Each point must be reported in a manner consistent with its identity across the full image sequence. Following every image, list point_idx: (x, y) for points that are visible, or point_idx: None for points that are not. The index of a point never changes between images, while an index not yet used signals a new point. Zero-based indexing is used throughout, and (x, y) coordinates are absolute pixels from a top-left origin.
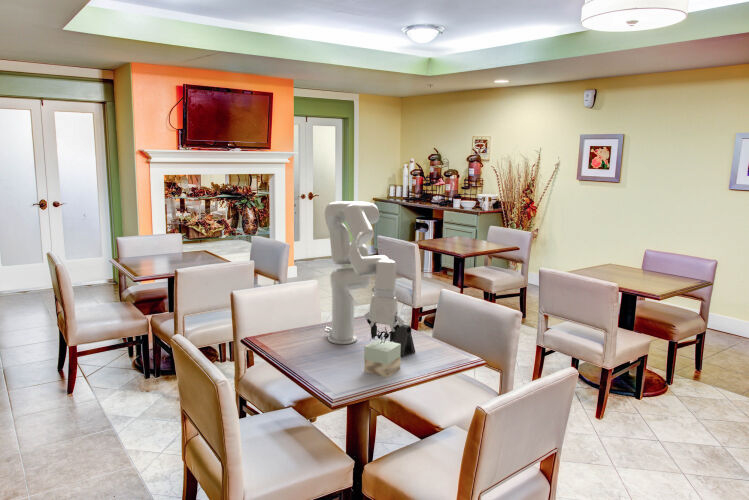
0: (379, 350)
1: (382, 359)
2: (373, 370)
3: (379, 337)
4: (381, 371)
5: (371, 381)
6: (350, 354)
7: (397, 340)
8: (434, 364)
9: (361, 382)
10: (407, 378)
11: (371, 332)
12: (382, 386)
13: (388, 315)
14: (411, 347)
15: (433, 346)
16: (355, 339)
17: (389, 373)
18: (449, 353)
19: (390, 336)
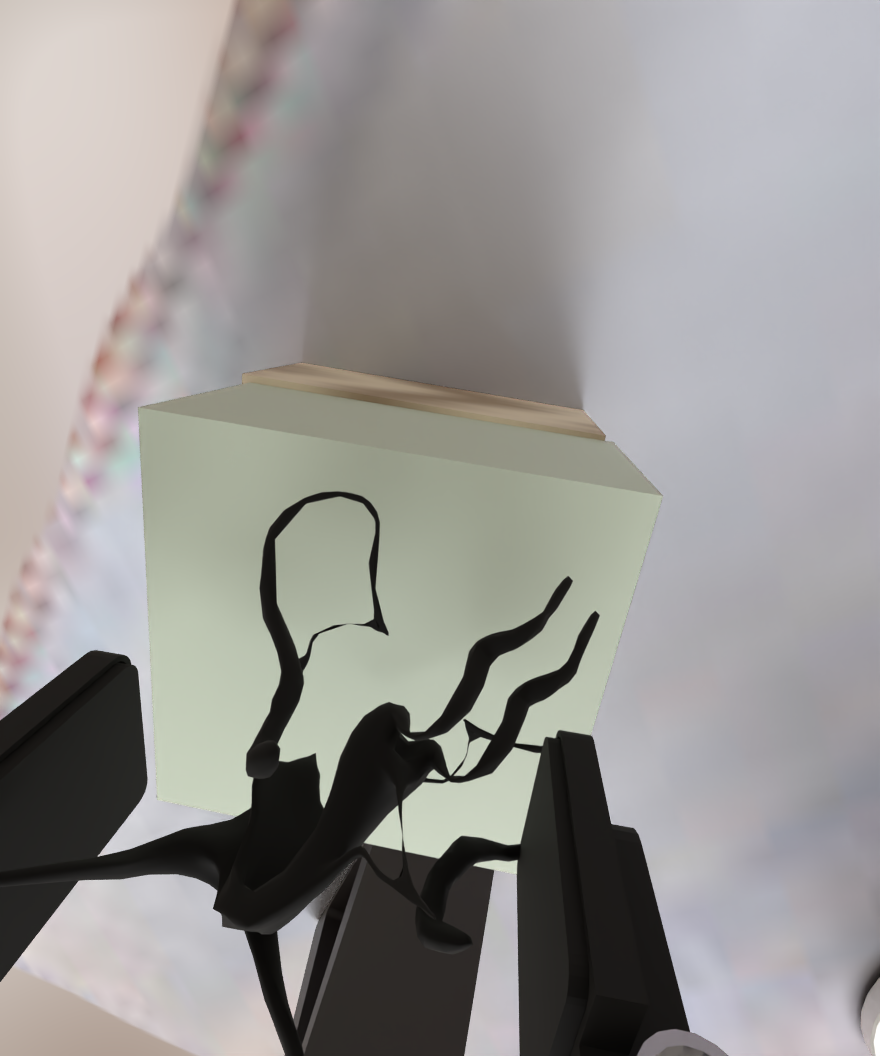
0: (325, 436)
1: (310, 404)
2: (465, 394)
3: (370, 723)
4: (361, 379)
5: (408, 167)
6: (846, 748)
7: (418, 1000)
8: None
9: (505, 71)
10: (130, 423)
11: (612, 839)
12: (243, 87)
13: None
14: (319, 951)
15: (252, 1031)
16: (877, 1019)
17: None
18: (108, 958)
19: (25, 729)
